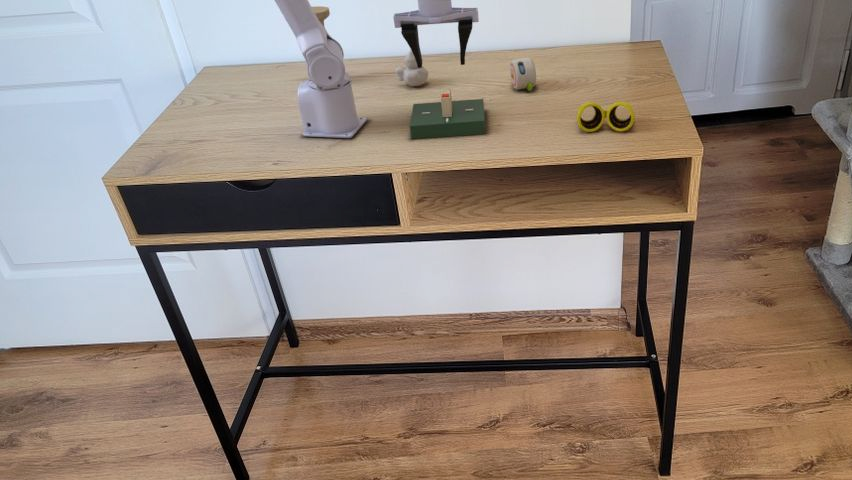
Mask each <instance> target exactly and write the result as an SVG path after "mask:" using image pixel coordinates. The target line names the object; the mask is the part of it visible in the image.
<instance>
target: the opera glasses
mask: <svg viewBox="0 0 852 480" xmlns="http://www.w3.org/2000/svg"><path fill="white" fill-rule="evenodd" d="M619 106H620V107H623V108H626V109H627V110H628V112H629V113H630V114H629V116H628V117H627V118H626V119H620V118H619V117H618V116H617V113H616V111H617V109H618V108H619ZM589 107H591V108H593V110H594V115H593V117H592V118H591V119H588V120H585V119H583V118H582V114H583V112H584V111H585V110H586V109H587V108H589ZM635 117H636V115H635V111H634V109H633V106H632V105H631V104H630V103H628V102H626V101H617V102H614V103H612V104H611V105H610V106H609V107H608V109H607V110H606V109H603V106H601V105H600V104H599V103H597V102H586V103H583V104H581V105H580V106H579V107H578V109H577V116H576V122H577V125H578V127H579V128H580V129H581V130H582V131H584V132H587V133H593V132H596V131H598V130H599V129H600V128H601V127H602V126H603V125H604V122H605V119H606V122H607V124H608V125H609V127H610V128H611V129H612V130H614V131H616V132H625V131H628V130H630V129H631V128H632V126H633V125H634V122H635Z"/></svg>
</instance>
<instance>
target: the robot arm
mask: <svg viewBox="0 0 852 480" xmlns="http://www.w3.org/2000/svg"><path fill="white" fill-rule="evenodd" d="M274 2H275V4H276V6H277V8H278V9H279V10H280V13H281V14H282V17H283V18H284V20H285V21H286V23H287V24H288V27H289V29H290V30H291V31H292V33H293V35H294V37H295V39H296V41H297V44H298V47H299V50H300V53H301V55H302V57H303V58H304V60H305V62H306V72H307V76H308V78H309V79H308V80H304V81H302V82H301V83H300V84H299V86H298V88H297V97H296V98H297V105H298V110H299V114H300V118H301V119H300V120H301V123H302V127H303V131H304V132H303V133H302V136H303V137H316V138H338V139H343V138H344V139H351V138H353V137H354V136H355V134H357V132H358V131H359V130H360V129H361V128H362V127H363V126H364V124H365V123H366V122H367V118H366V117H358V114H357V108H356V102H355V97H354V91H353V86H352V80H351V76H350V74H348V72H346V66H345V63H344V57H345V53H344V49H343V47H342V45H341V44H340V42H339V41H337V40H336V39H335V38H333V37H332V36H331V35H330V34H329V32H328V31H327V28H326V27H324V26H325V25H324V26H323V25H322V24H321V23H320V21H319V20H318V18H317V16H316V14H315V12H314V11H313V9H312V7H313V6H312V5H311V3H310V2H309V0H274ZM417 7H418V9H416V10H411V11H405V12H397V13H394V14H393V16H392V17H393V24H394V28H395V29H401V31H400V33H401V35H402V37H403V39H404V40H405V41H406V43H407V45H408V47H409V48H410V50H412V52H413V55H414V57H415V59H416V62H417V66H418V68H422V66H423V61H422V60H423V57H422V52H421V46H420V39H419V28H418V27H419V26H425V25H438V24H439V25H440V24H455V23H457V33H458V40H459V41H458V43H459V48H460V49H459V60H460V65H461V66H464V65H466V51H467V46H468V42H469V39H470V36H471V35H472V30H473V24H474V23H479V21H480V20H479V18H480V17H479V8H478V7H453V4H452V0H417Z"/></svg>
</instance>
